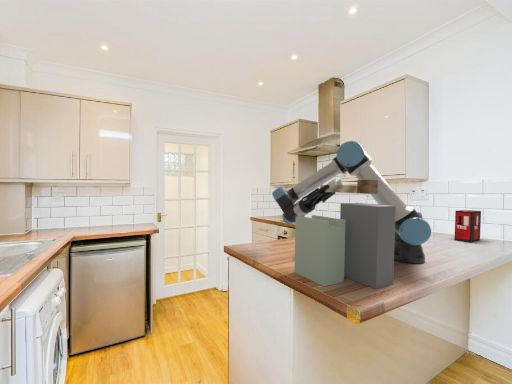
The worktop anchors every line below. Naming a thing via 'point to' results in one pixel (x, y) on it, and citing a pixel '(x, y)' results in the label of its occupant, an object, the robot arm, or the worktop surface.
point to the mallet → (357, 187)
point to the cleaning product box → (467, 225)
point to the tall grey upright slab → (369, 243)
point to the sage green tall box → (320, 249)
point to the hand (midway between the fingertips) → (338, 182)
